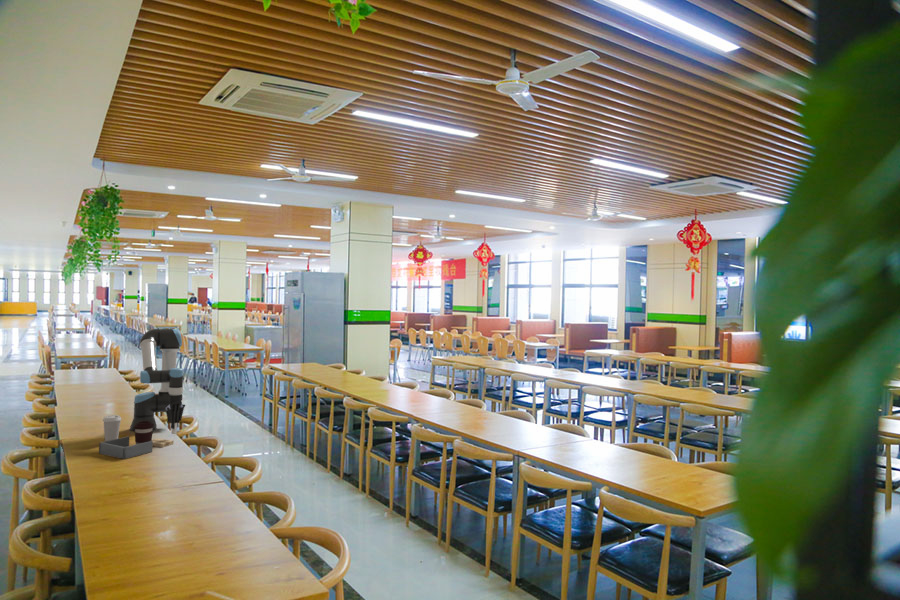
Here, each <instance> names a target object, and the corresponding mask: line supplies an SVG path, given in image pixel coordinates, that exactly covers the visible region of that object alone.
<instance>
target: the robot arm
mask: <svg viewBox="0 0 900 600" xmlns="http://www.w3.org/2000/svg"><path fill="white" fill-rule="evenodd" d="M182 339H183V338H182V333H181V331H180V330H179V329H177V328H176V329H175V328H153V329H149V330H147V331H146V332H145V333H144V334H143V335H142V336H141V337H140V341H139V348H140V349H141V354H142V357H141V358H142V370H141V371H140V373H139V382H140V383H141V384H159V383H160V384H161V387H160V389H159V390H158V393H156V392H154V391H148V392H147V391H146V392H145V391H144V392H142V393H138V394H136V395H135V396H134V399H133V400H134V401H133V404H134V405H133V419H132V421H131V424H130V426H129V431H131V432H135V429H134V425H136V424H137V423H138V422H141V421H150V422H151V424H154V427H153V428H152V431H154V430H157V429H158V428H157V422H156V419H155V413H166V418H167V423H170V429H171V434H172V435H177V434H178V428H179V423H180V422H181V421H182V418H183V414H184V411H185V410H184V409H185V407H186V404H184V403H183V402H182V401H183V391H184V390H183V388H184V387H183V386H184V374H185V373H184V369H183V368H181V367H177V356H178V355H177V354H178V351H180V347H183V346H182V345H183V340H182ZM157 347H159V351H161V369H160V370H158V363H157V355H156V354H157V353H156V348H157Z"/></svg>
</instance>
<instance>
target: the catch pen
mask: <svg viewBox="0 0 900 600" xmlns="http://www.w3.org/2000/svg"><path fill="white" fill-rule="evenodd" d="M153 447H154V446H153V441H149V442H145V443H141V444H136V443H135V444H133V445H132V444H131V445H130V436H125V437H124V436H123V437H121V438H120V437H118V439H114V440H109V441H105V440H104V441H101V442H99V449H98V453H99V455H103V456H104V455H105V456H107V455H108V457H112V456H113V458H116V457H117V459H121V458H122V460H125V459H126V458H127V459H129V458H133V457H138V456H141V455H146V454H149V453H153Z"/></svg>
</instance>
